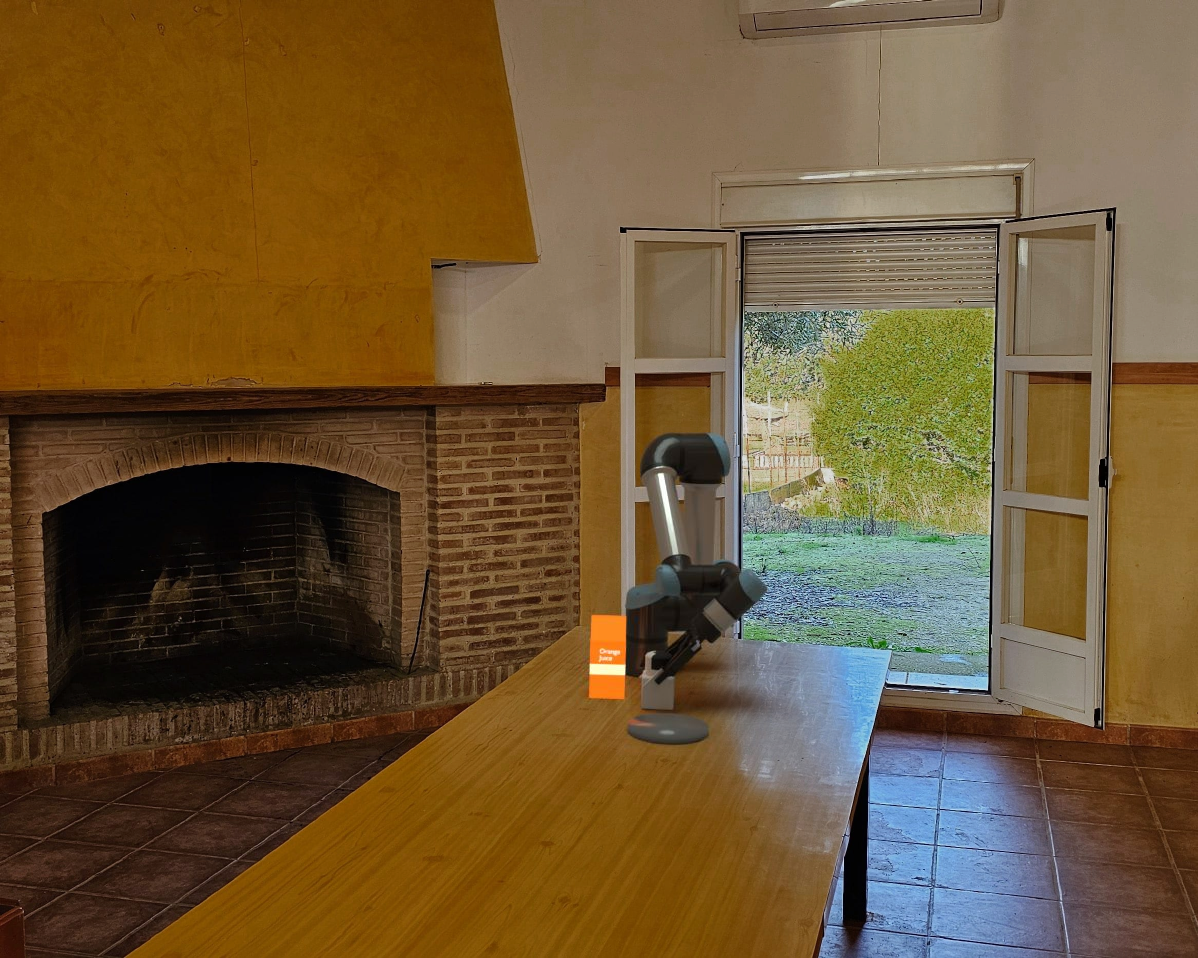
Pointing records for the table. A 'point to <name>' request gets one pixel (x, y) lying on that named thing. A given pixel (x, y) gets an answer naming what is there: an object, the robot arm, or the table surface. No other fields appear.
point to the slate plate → (668, 728)
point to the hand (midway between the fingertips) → (644, 685)
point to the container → (665, 692)
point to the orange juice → (607, 657)
